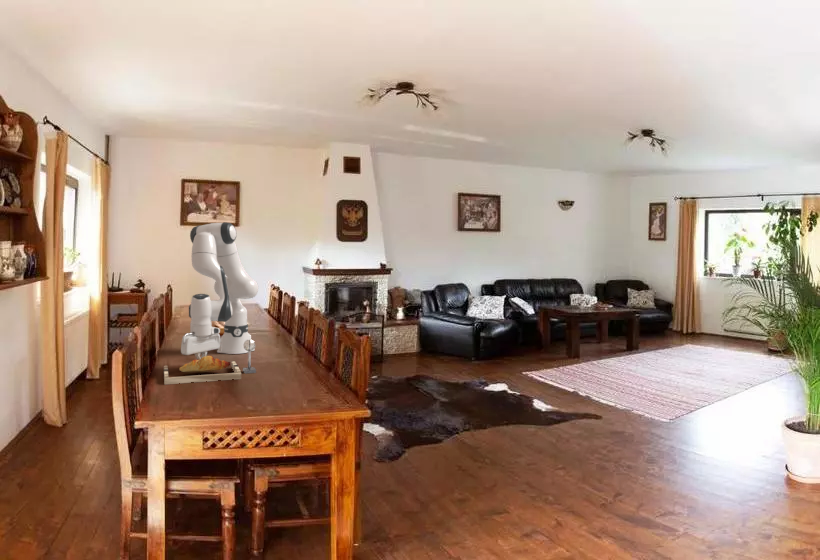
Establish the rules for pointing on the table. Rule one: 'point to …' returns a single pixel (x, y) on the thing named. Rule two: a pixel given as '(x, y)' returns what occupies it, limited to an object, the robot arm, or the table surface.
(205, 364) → the croissant
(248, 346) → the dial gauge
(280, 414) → the table surface
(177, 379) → the frame
